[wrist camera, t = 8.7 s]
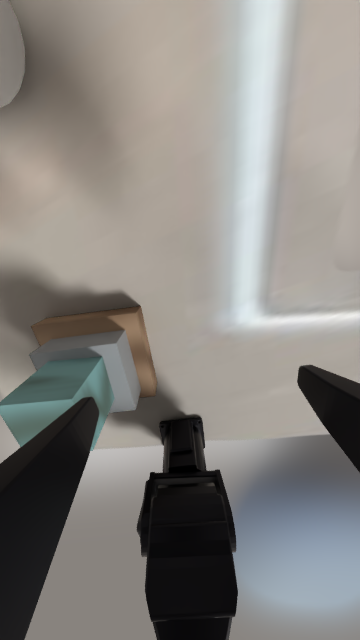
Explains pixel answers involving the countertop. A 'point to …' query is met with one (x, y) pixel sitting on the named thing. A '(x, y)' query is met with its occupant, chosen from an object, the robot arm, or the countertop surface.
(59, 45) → the countertop surface
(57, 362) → the teal block
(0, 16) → the can
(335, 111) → the countertop surface
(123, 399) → the grey block
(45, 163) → the countertop surface
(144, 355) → the walnut slab
